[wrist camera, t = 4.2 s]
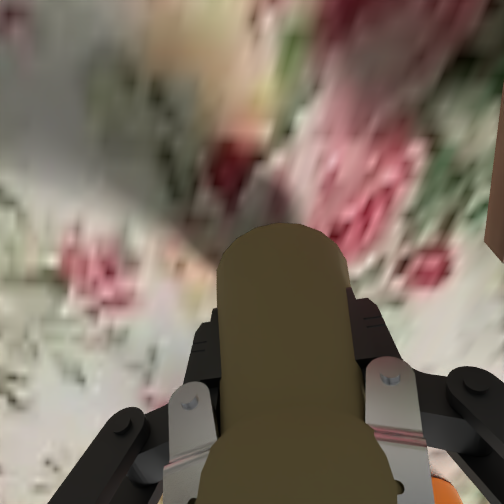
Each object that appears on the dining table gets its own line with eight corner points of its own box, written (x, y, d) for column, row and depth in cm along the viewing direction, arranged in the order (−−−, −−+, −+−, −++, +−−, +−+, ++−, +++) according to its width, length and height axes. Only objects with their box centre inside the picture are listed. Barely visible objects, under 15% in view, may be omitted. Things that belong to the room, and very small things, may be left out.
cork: (228, 209, 14) (157, 545, 4) (369, 238, 14) (582, 595, 5) (207, 320, 17) (137, 665, 7) (324, 341, 17) (403, 689, 8)
